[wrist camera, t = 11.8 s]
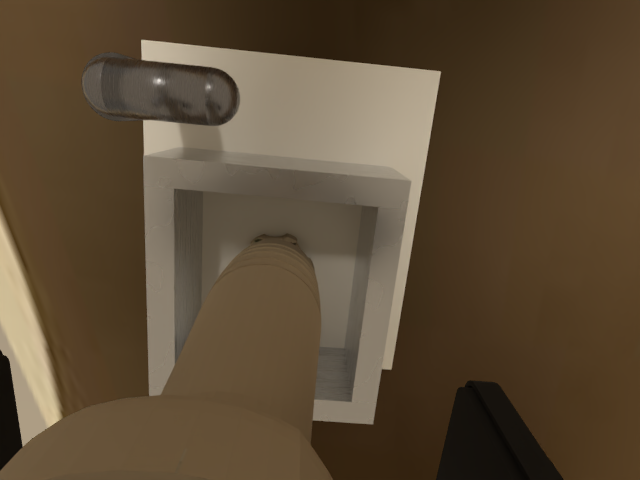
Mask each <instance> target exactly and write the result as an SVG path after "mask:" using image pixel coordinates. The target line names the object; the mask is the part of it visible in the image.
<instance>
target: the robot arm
mask: <svg viewBox="0 0 640 480" xmlns="http://www.w3.org/2000/svg"><path fill="white" fill-rule="evenodd" d="M21 448H22V440H21V434H20V428H19V421H18V414H17V408H16V401H15V395H14V388H13V382H12V375H11V369H10V362H9V359H8V358H7V357H6V356H4V355H3V354H2V352H1V350H0V471H1V469H2V468H3V467H4V466H5V465H6V464H7V463H8V462H9V461H10V460H11V459H12V458H13V457H14V456H15V454H16V453H17V452H18V451H19V450H20V449H21ZM436 480H563V478H562V477H561V475H560V474H559V472H558V471H557V469H556V468H555V466H554V465H553V463H552V462H551V461H550V460H549V458H548V457H547V456H546V454H545V453H544V451H543V450H542V448H541V447H540V445H539V444H538V442H537V441H536V439H535V438H534V436H533V435H532V434H531V432H530V431H529V429H528V428H527V426H526V425H525V423H524V422H523V420H522V419H521V417H520V416H519V414H518V413H517V411H516V410H515V408H514V407H513V405H512V404H511V402H510V401H509V399H508V398H507V396H506V395H505V393H504V392H503V390H502V389H501V387H500V386H499V385H498V384H497V383H495V382H483V381H468V382H467V383H466V385H465V387H459V388H458V390H457V393H456V397H455V401H454V405H453V410H452V414H451V418H450V422H449V427H448V431H447V435H446V440H445V444H444V448H443V452H442V457H441V461H440V465H439V470H438V474H437V478H436Z"/></svg>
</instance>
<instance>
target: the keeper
mask: <svg viewBox="0 0 640 480" xmlns="http://www.w3.org/2000/svg"><path fill="white" fill-rule="evenodd" d="M141 48H142V60H137V59H134V58H130V57H127V56H124V55H121V54H118V53H102V54H99V55H97V56H95V57H94V58H92V59H91V60H90V61H89V62H88V63H87V65H86V67H85V68H84V71H83V74H82V90H83V94H84V96H85V99H86V100H87V102H88V104H89V105H90V106H91V108H92V109H93V110H94V111H95V112H96V113H98V114H99V115H101V116H102V117H104V118H107V119H109V120H114V121H136V120H143V129H144V156H143V172H144V211H145V250H146V289H147V329H148V368H149V396H156V395H161V393H162V391H163V389H164V387H165V384H166V382H167V380H168V378H169V376H170V374H171V372H172V370H173V368H174V366H175V364H176V362H177V359H178V357H179V355H180V353H181V351H182V349H183V346H184V344H185V342H186V340H187V338H188V335H189V333H190V331H191V329H192V327H193V325H194V322H195V320H196V318H197V316H198V314H199V311H200V309H201V307H202V305H203V303H204V301H205V299H206V297H207V295H208V293H209V291H210V290H211V288H212V287H213V285H214V283H215V282H216V280H217V279H218V277H219V276H220V275H221V273H222V272H223V271H224V269H225V268H226V267H227V266H228V264H229V263H230V262H231V261H232V260H233V259H234V258H235V257H236V256H237V255H238V254H239V253H240V252H241V251H242V250H244V249H245V248H247V247H248V246H250V243H251V241H252V240H253V239H254V238H256V237H257V236H260V235H262V234H266V235H268V236H273V237H278V236H283V235H285V234H287V233H288V234H291V235H293V236H295V237H296V238H297V243H298V245H299V247H300V249H301V250H302V251H303V252H304V253H305V254H306V256H307V257H309V258H311V260H312V262H313V265H314V269H315V275H316V279H317V282H318V289H319V295H320V306H321V336H320V346H319V356H318V367H317V377H316V387H315V398H314V410H313V420H315V421H330V422H345V423H360V424H373V421H374V415H375V408H376V402H377V396H378V390H379V383H380V377H381V371H382V369H389V370H391V369H392V363H393V357H394V351H395V345H396V339H397V333H398V327H399V321H400V315H401V309H402V303H403V297H404V291H405V285H406V279H407V273H408V267H409V261H410V255H411V249H412V243H413V237H414V231H415V225H416V219H417V213H418V207H419V201H420V195H421V189H422V183H423V177H424V171H425V165H426V159H427V152H428V146H429V140H430V134H431V128H432V122H433V116H434V110H435V104H436V98H437V92H438V86H439V80H440V74H441V71H432V70H423V69H413V68H404V67H394V66H385V65H376V64H366V63H357V62H347V61H338V60H328V59H319V58H309V57H300V56H290V55H281V54H272V53H262V52H253V51H243V50H234V49H224V48H215V47H205V46H196V45H186V44H177V43H167V42H158V41H149V40H141Z"/></svg>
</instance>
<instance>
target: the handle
mask: <svg viewBox="0 0 640 480" xmlns="http://www.w3.org/2000/svg"><path fill="white" fill-rule="evenodd" d="M320 336H321V306H320V295H319V289H318V282H317V279H316V275H315V269H314V265H313V262H312V260H311V258H309V257H307V256H306V254H305V253H304V252H303V251H302V250H301V249H300V247H299V245H298V243H297V238H296V237H295V236H293V235H291V234H288V233H287V234H285V235H283V236H278V237H273V236H268V235H266V234H262V235H260V236H257V237H256V238H254V239H253V240H252V241H251V243H250V246H248V247H247V248H245V249H244V250H242V251H241V252H240V253H239V254H238V255H237V256H236V257H235V258H234V259H233V260H232V261H231V262H230V263H229V264H228V266H227V267H226V268H225V269H224V271H223V272H222V273H221V275H220V276H219V277H218V279H217V280H216V282H215V283H214V285H213V287H212V288H211V290H210V291H209V293H208V295H207V297H206V299H205V301H204V303H203V305H202V307H201V309H200V311H199V314H198V316H197V318H196V320H195V322H194V325H193V327H192V329H191V331H190V333H189V335H188V338H187V340H186V342H185V344H184V346H183V349H182V351H181V353H180V355H179V357H178V359H177V362H176V364H175V366H174V368H173V370H172V372H171V374H170V376H169V378H168V380H167V382H166V384H165V387H164V389H163V391H162V393H161V395H156V396H144V397H132V398H123V399H118V400H114V401H110V402H106V403H101V404H97V405H93V406H89V407H86V408H84V409H82V410H80V411H78V412H76V413H73V414H71V415H69V416H67V417H65V418H63V419H61V420H59V421H58V422H56V423H55V424H53V425H52V426H50V427H49V428H47V429H46V430H45V431H43V432H42V433H40V434H38V435H37V436H35V437H34V438H32V439H31V440H30V441H29V442H28V443H27V444H26V445H25V446H23V447H22V448H21V449H20V450H19V451H18V452H17V453H16V454H15V456H14V457H13V458H12V459H11V460H10V461H9V462H8V463H7V464H6V465H5V466H4V467H3V468H2V469H1V471H0V480H333V479H332V477H331V475H330V473H329V472H328V470H327V469H326V467H325V466H324V464H323V462H322V461H321V459H320V458H319V456H318V455H317V453H316V452H315V450H314V449H313V448H312V446H311V434H312V422H313V410H314V398H315V387H316V377H317V367H318V356H319V346H320Z"/></svg>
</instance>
